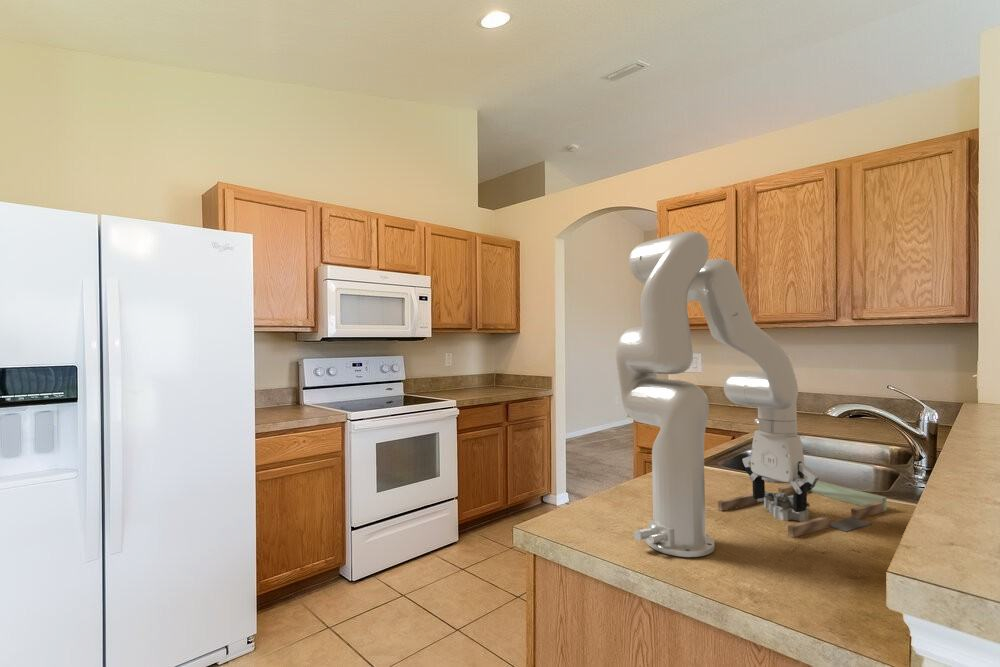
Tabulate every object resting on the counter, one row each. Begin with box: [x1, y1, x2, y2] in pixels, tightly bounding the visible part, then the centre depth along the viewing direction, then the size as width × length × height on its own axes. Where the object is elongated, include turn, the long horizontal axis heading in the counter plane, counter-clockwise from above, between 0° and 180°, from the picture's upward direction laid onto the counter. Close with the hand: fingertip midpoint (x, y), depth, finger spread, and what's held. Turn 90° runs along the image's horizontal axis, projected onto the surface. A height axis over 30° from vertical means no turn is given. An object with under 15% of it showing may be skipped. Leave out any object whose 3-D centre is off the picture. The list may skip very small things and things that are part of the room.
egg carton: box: [763, 490, 811, 523], centre depth 112 cm, size 11×8×4 cm
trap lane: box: [717, 477, 888, 539], centre depth 114 cm, size 32×24×3 cm
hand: (778, 504), depth 110 cm, fingers open, 9 cm apart
